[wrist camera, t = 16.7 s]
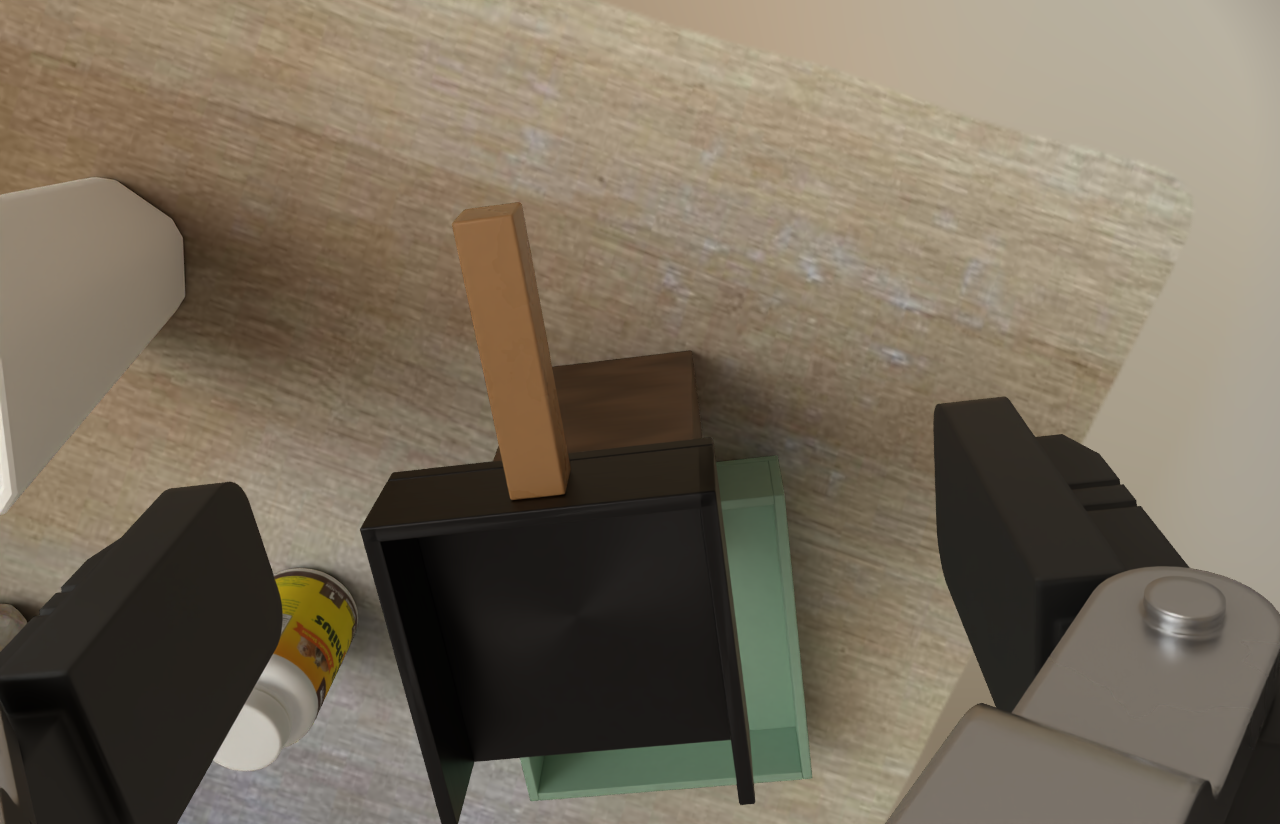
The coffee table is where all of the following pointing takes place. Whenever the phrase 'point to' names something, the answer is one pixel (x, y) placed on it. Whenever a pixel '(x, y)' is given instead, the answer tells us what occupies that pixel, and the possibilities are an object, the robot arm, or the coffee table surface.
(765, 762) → the tray
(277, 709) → the supplement bottle
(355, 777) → the coffee table surface
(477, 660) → the pan
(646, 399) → the block
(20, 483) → the cup
